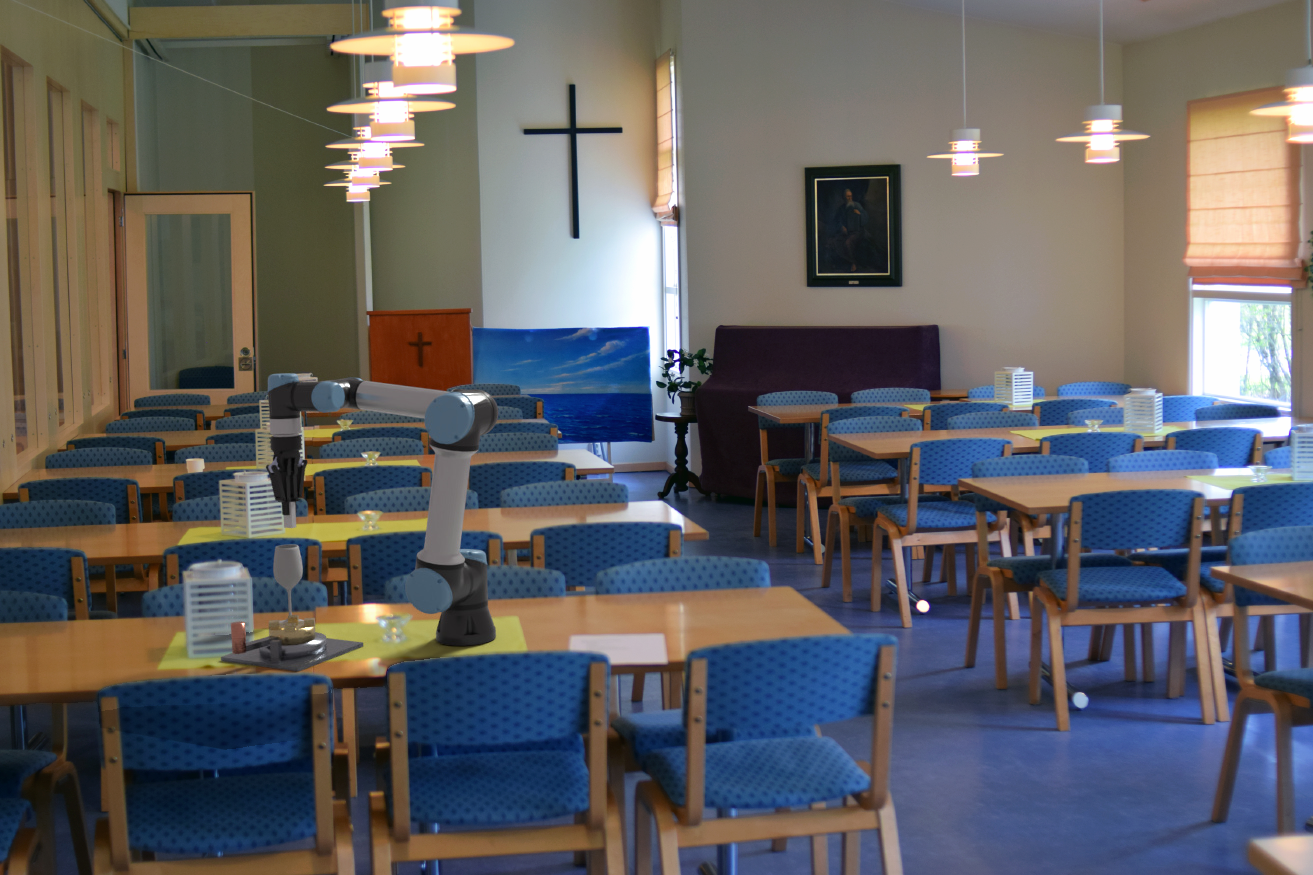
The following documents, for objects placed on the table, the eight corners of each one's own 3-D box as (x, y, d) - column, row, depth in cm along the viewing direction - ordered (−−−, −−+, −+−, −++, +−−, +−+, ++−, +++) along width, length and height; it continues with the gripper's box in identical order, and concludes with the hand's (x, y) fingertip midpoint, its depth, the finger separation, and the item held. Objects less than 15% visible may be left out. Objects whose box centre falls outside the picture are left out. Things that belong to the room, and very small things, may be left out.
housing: (363, 646, 328) (362, 622, 328) (298, 671, 307) (297, 646, 306) (289, 637, 339) (287, 614, 338) (220, 660, 317) (219, 636, 317)
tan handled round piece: (294, 630, 330) (293, 601, 329) (325, 636, 324) (323, 606, 323) (218, 652, 311) (217, 621, 310) (249, 658, 305) (247, 627, 304)
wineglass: (276, 627, 349) (272, 549, 347) (276, 620, 356) (272, 544, 354) (305, 625, 351) (301, 548, 349) (305, 618, 358) (301, 543, 356)
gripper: (291, 431, 337) (296, 522, 339) (255, 437, 325) (260, 530, 328) (314, 432, 334) (318, 524, 336) (279, 438, 322) (283, 532, 325)
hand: (290, 527), depth 332 cm, fingers closed
